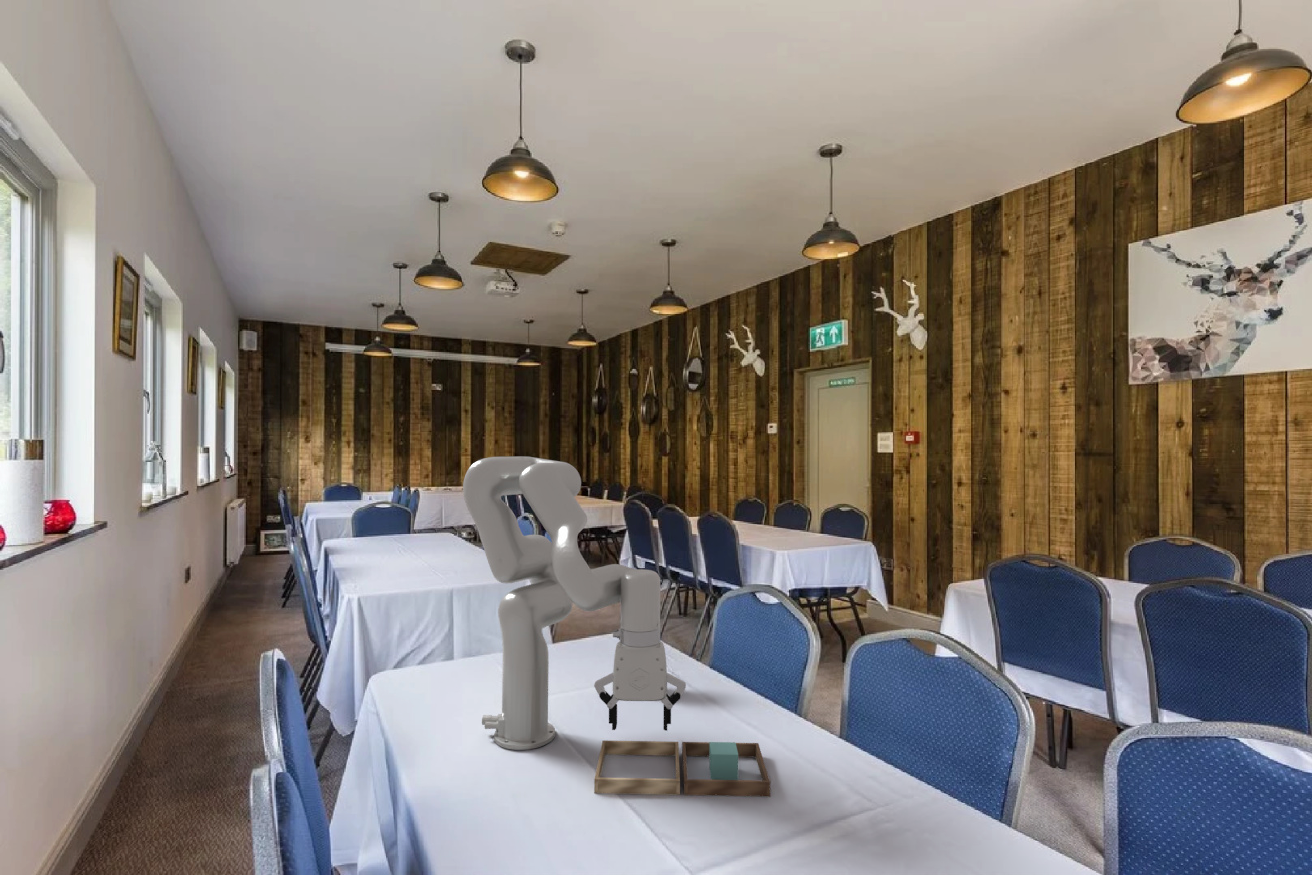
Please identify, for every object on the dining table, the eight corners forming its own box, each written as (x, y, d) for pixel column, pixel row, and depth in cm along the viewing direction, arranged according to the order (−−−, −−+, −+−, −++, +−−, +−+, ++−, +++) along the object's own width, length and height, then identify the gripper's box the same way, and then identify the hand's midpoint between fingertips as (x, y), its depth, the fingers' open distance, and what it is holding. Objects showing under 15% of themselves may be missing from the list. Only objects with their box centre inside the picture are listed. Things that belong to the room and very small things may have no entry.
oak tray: (594, 793, 117) (594, 779, 117) (602, 752, 132) (602, 740, 132) (679, 794, 117) (679, 780, 117) (678, 754, 132) (678, 741, 132)
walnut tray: (684, 794, 117) (684, 780, 117) (682, 754, 132) (682, 741, 132) (770, 796, 117) (770, 782, 117) (758, 755, 132) (758, 743, 132)
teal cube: (711, 781, 122) (711, 754, 122) (709, 767, 127) (709, 741, 127) (738, 781, 122) (738, 754, 122) (735, 768, 127) (735, 742, 127)
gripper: (592, 642, 121) (592, 735, 121) (686, 642, 121) (686, 736, 121) (596, 630, 129) (596, 718, 128) (685, 631, 128) (685, 719, 128)
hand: (640, 727), depth 125 cm, fingers open, 9 cm apart
